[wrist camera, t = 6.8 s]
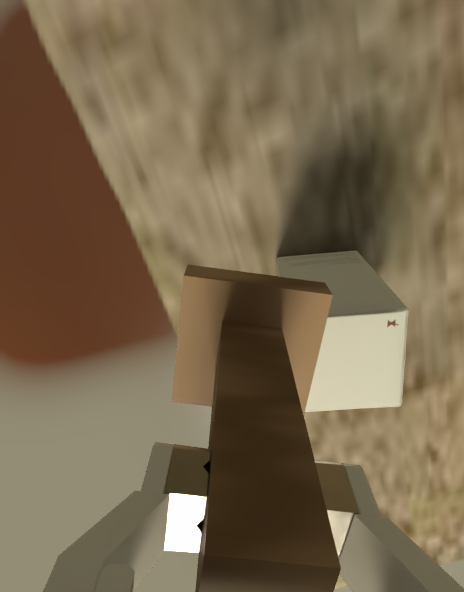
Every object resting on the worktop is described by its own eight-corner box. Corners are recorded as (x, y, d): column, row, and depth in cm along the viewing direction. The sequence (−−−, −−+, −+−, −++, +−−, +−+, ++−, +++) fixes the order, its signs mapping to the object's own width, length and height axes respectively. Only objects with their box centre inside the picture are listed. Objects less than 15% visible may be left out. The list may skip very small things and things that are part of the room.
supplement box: (274, 255, 36) (288, 316, 24) (358, 248, 35) (414, 307, 24) (278, 328, 39) (292, 415, 27) (356, 323, 38) (405, 409, 26)
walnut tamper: (324, 282, 17) (467, 508, 7) (298, 397, 20) (374, 706, 9) (188, 264, 17) (109, 468, 6) (176, 382, 19) (102, 682, 9)
